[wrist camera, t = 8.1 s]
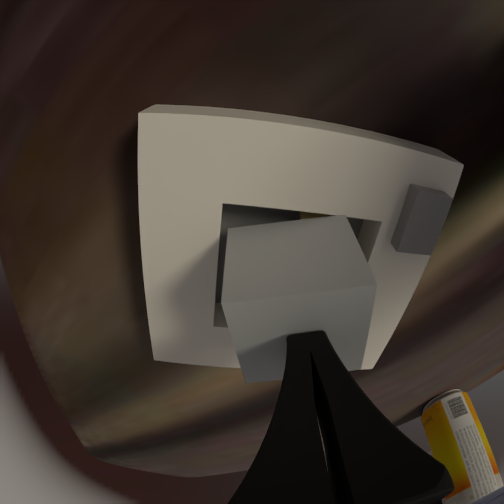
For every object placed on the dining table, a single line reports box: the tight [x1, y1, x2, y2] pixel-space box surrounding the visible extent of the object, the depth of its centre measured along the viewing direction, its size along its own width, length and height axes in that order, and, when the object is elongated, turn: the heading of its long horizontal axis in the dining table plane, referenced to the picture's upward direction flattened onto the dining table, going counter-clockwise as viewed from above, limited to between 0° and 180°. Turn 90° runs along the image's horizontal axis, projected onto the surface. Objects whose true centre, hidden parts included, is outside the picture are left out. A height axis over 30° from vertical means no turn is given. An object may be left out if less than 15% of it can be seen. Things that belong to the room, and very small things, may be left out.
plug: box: [221, 211, 377, 383], centre depth 14 cm, size 5×5×6 cm
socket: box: [138, 105, 464, 369], centre depth 16 cm, size 14×14×3 cm
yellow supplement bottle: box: [421, 389, 504, 504], centre depth 23 cm, size 6×6×15 cm
